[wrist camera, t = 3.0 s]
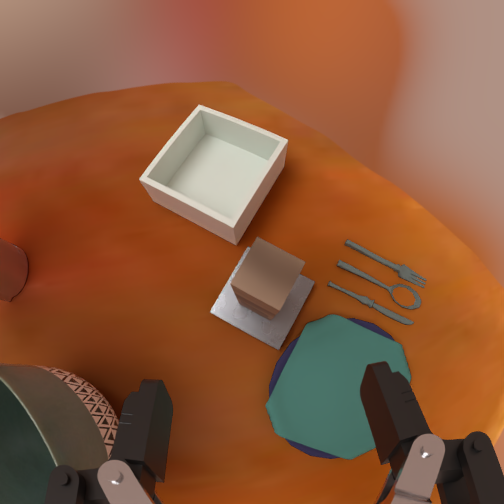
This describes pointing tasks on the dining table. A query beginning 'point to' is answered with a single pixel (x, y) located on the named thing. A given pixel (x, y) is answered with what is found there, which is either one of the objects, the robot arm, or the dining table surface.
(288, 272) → the strut
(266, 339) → the stud plate
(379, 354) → the cutlery set
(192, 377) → the dining table surface
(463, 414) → the dining table surface
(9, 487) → the planter
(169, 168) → the bin
